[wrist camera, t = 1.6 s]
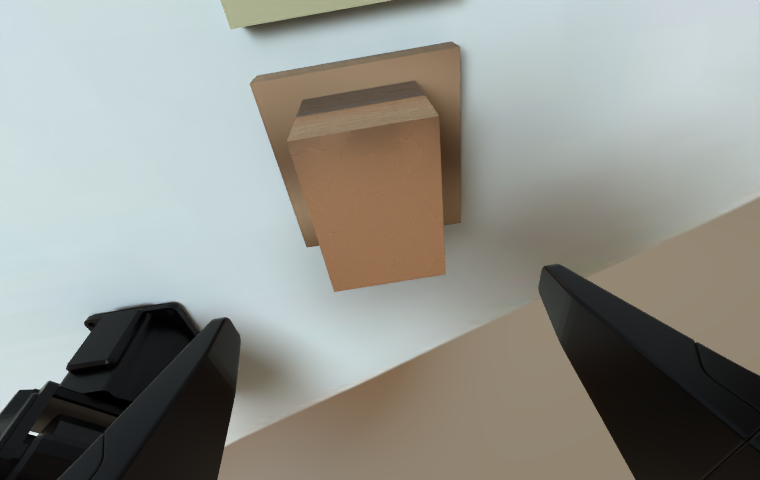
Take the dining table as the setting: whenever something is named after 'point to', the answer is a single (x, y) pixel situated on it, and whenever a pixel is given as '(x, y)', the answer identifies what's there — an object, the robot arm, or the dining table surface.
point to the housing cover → (373, 190)
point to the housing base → (359, 98)
